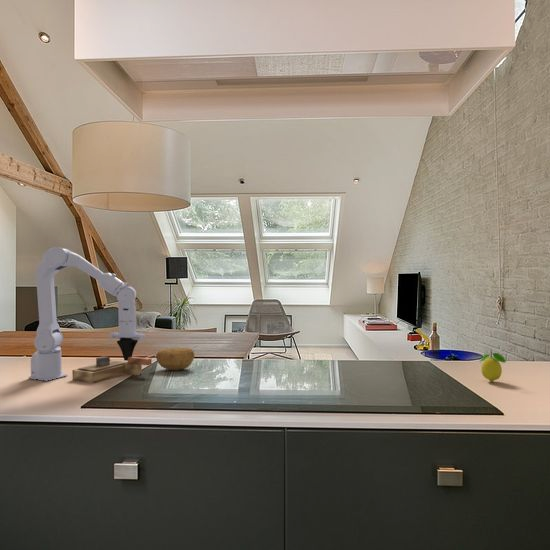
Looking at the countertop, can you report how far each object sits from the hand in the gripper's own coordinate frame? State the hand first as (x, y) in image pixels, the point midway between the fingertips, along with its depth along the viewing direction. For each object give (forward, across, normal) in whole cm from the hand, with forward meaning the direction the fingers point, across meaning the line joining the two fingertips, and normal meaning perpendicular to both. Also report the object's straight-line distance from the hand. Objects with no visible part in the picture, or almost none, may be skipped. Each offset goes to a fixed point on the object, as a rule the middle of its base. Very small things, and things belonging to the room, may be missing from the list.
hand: (127, 359), depth 143 cm
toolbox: (+5, +2, +6) cm, 8 cm away
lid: (+2, +5, +6) cm, 8 cm away
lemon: (+5, -114, -36) cm, 119 cm away
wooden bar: (+1, -6, 0) cm, 6 cm away
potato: (+5, -12, -11) cm, 17 cm away
